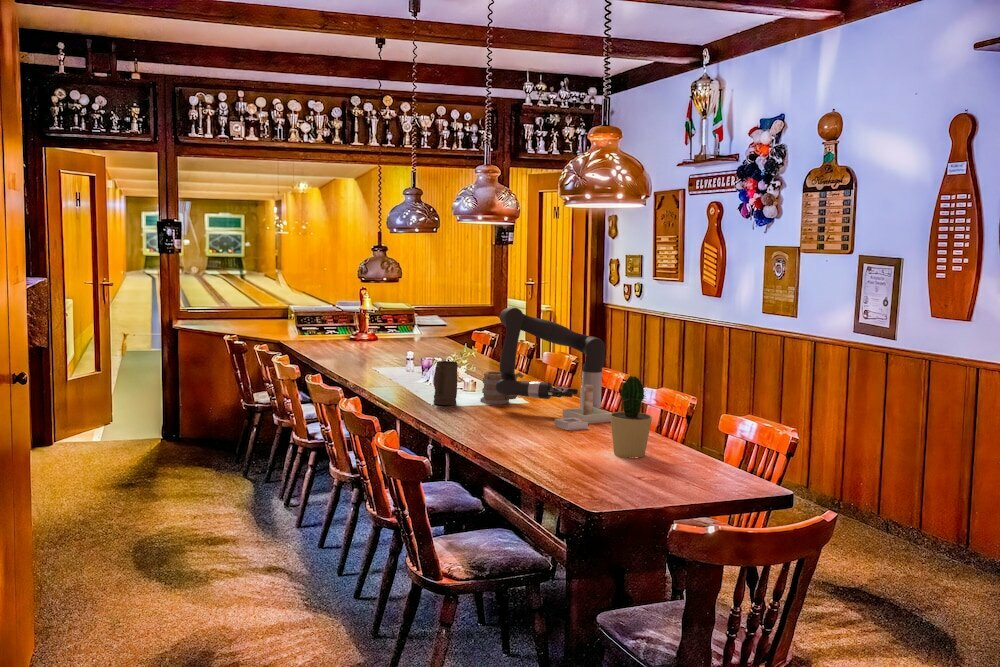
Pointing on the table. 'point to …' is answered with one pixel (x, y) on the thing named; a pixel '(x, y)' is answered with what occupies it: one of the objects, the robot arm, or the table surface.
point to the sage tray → (596, 415)
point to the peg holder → (571, 423)
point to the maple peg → (588, 400)
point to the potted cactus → (631, 421)
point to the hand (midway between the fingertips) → (575, 393)
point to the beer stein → (445, 383)
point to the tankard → (490, 389)
